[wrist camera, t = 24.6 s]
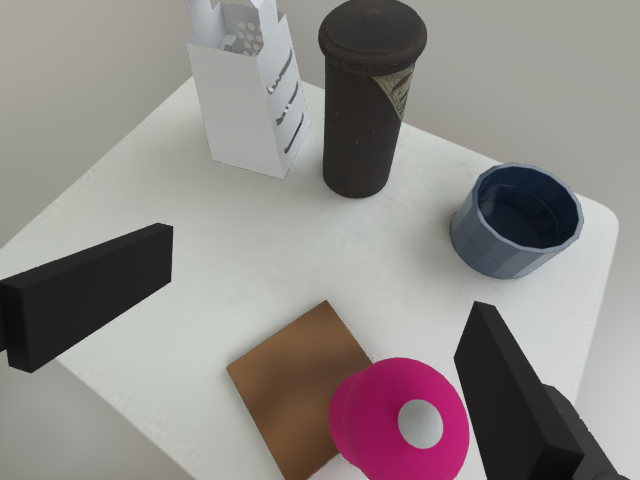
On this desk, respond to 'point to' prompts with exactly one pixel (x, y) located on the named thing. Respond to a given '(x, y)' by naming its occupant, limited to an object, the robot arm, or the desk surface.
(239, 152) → the grater
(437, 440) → the pepper mill
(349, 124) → the container
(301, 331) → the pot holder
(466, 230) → the pot
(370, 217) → the desk surface
